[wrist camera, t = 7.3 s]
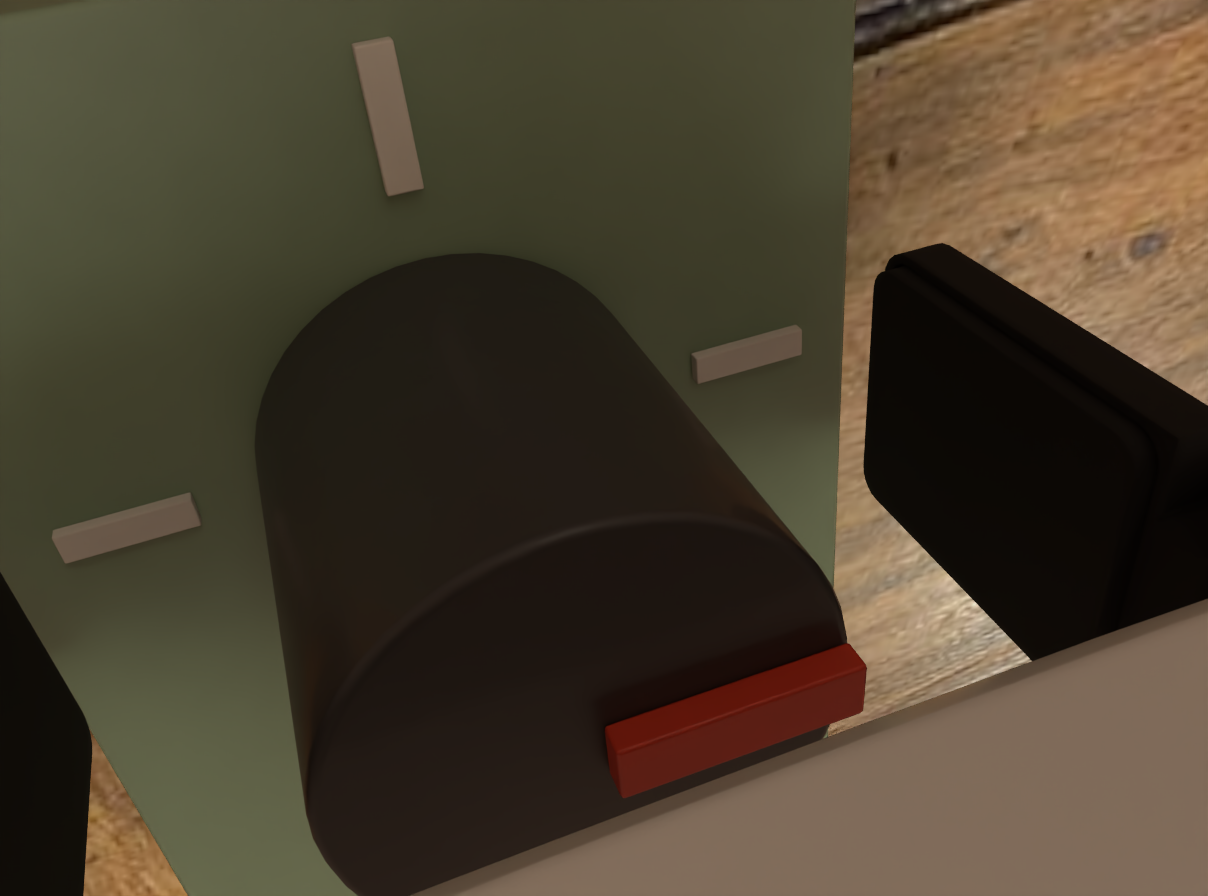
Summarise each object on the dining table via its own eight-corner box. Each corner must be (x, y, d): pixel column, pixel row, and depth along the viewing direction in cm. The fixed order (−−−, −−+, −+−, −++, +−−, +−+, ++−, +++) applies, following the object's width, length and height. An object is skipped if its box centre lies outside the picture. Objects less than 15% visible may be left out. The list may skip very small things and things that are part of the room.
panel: (-201, -5, 10) (-314, 72, 8) (730, -155, 12) (873, -132, 10) (235, 841, 18) (248, 1010, 16) (750, 659, 21) (832, 783, 18)
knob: (311, 630, 13) (384, 1039, 9) (198, 304, 10) (229, 667, 6) (649, 529, 14) (856, 851, 10) (624, 209, 11) (892, 467, 7)
